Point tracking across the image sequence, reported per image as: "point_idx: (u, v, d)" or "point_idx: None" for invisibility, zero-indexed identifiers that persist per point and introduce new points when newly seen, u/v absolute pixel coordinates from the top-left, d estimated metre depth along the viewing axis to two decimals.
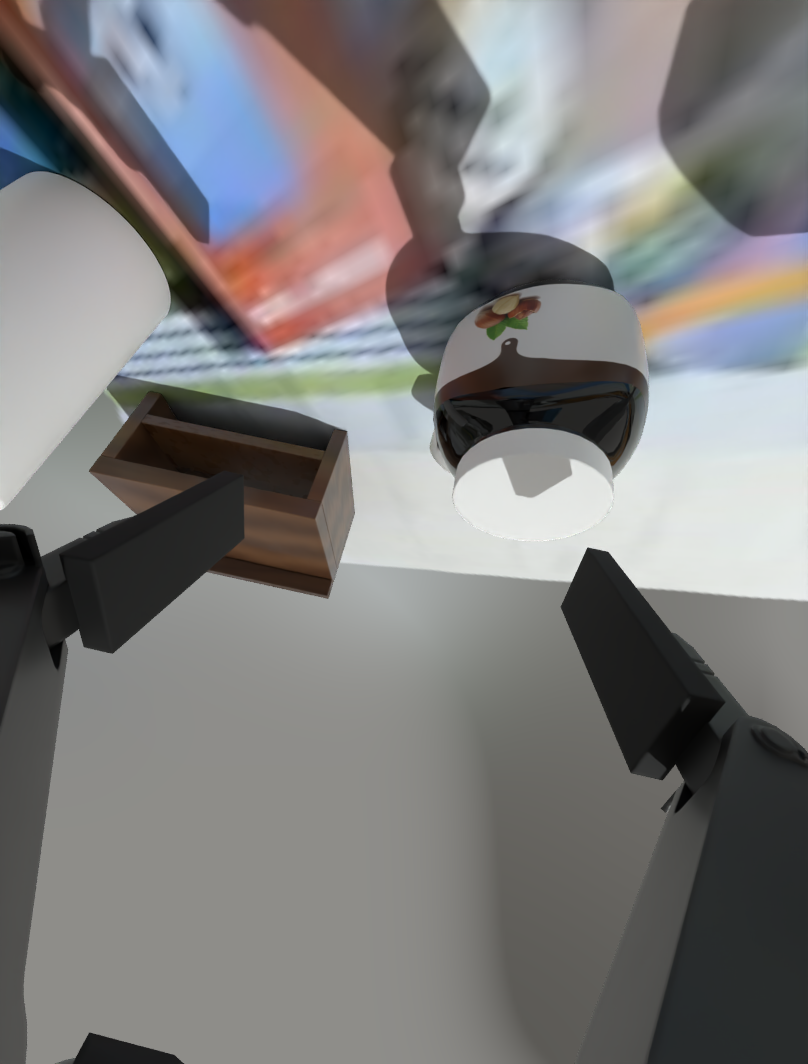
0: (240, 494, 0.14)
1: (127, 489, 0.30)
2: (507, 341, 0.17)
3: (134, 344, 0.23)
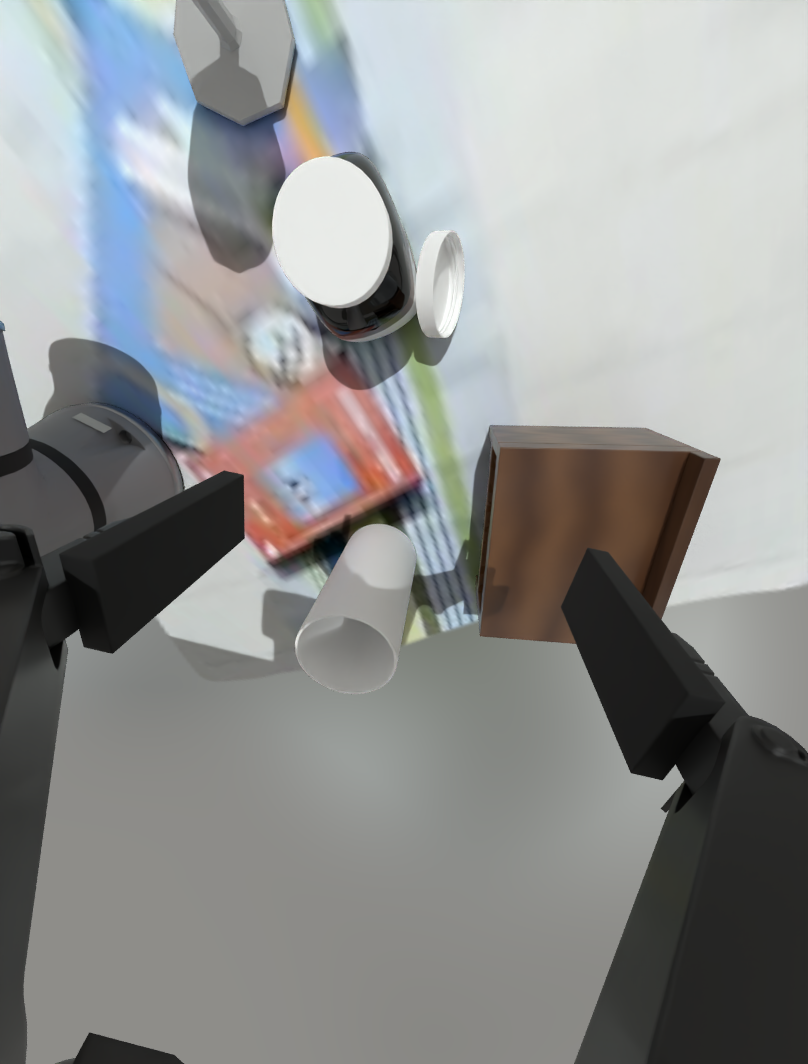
0: (240, 494, 0.14)
1: (500, 619, 0.34)
2: None
3: (391, 547, 0.38)
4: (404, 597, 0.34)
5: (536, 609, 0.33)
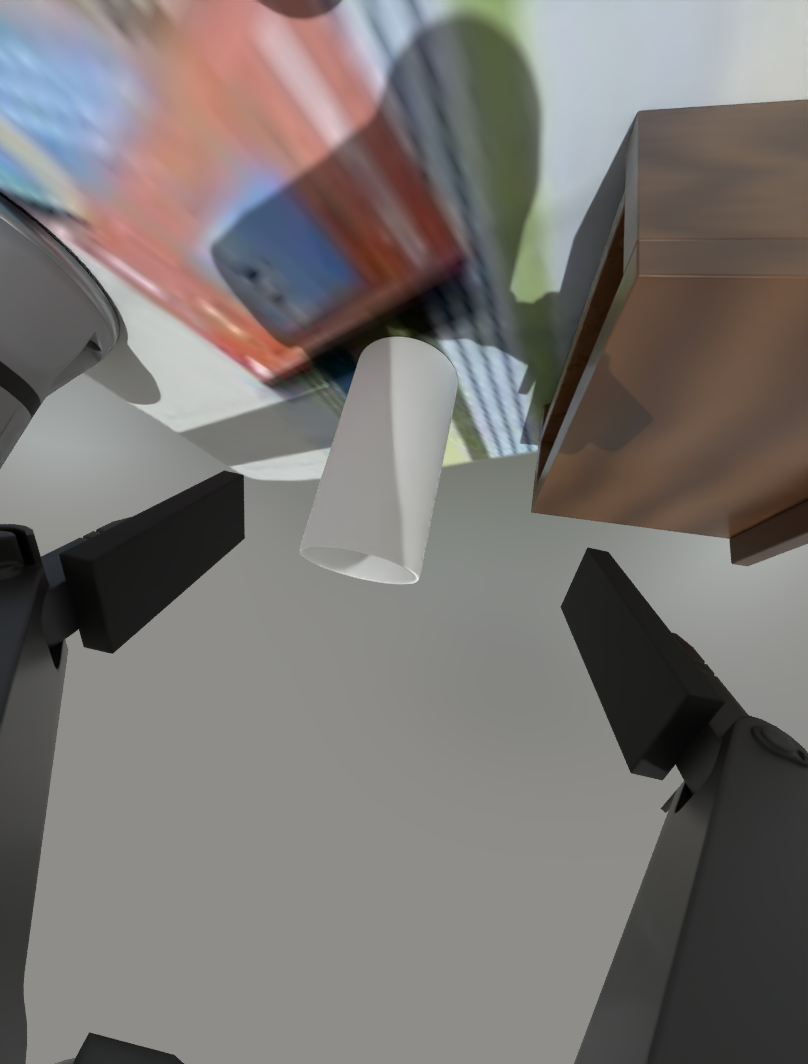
0: (240, 494, 0.14)
1: (562, 503, 0.26)
2: None
3: (415, 394, 0.25)
4: (432, 480, 0.25)
5: (617, 500, 0.24)
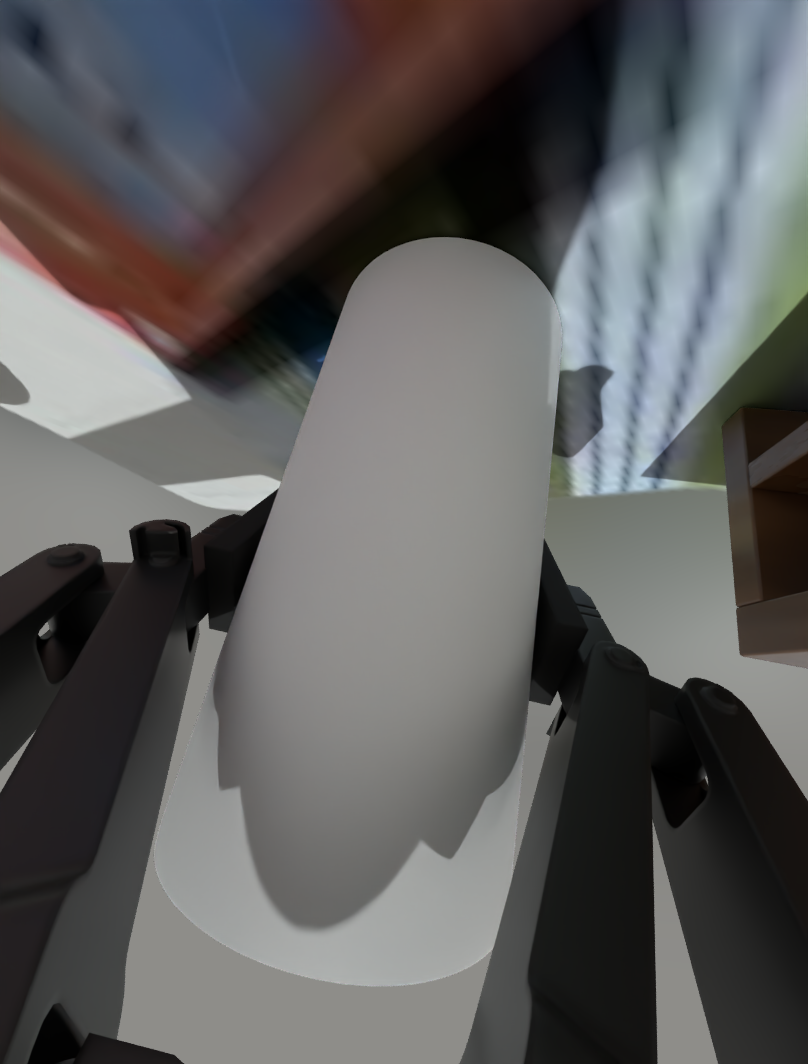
0: None
1: None
2: None
3: (491, 379, 0.09)
4: (534, 609, 0.09)
5: None
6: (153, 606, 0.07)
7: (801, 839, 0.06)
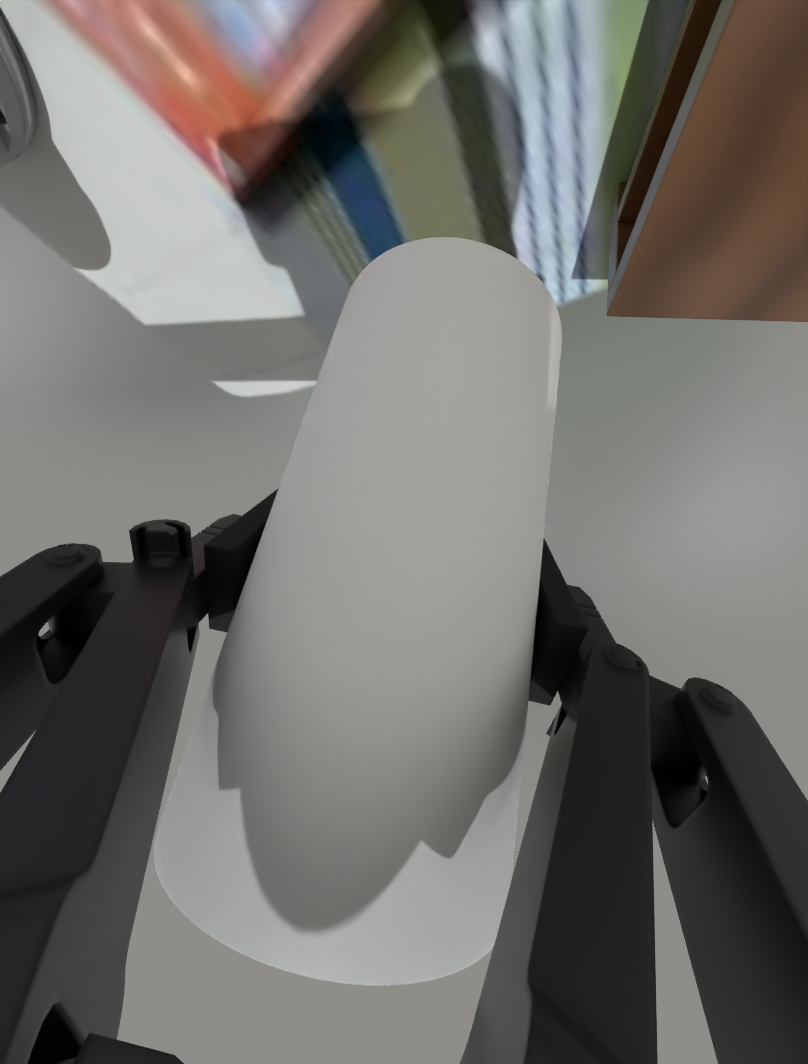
0: None
1: (662, 275, 0.17)
2: None
3: (490, 379, 0.09)
4: (534, 609, 0.09)
5: (761, 242, 0.15)
6: (153, 606, 0.07)
7: (801, 839, 0.06)
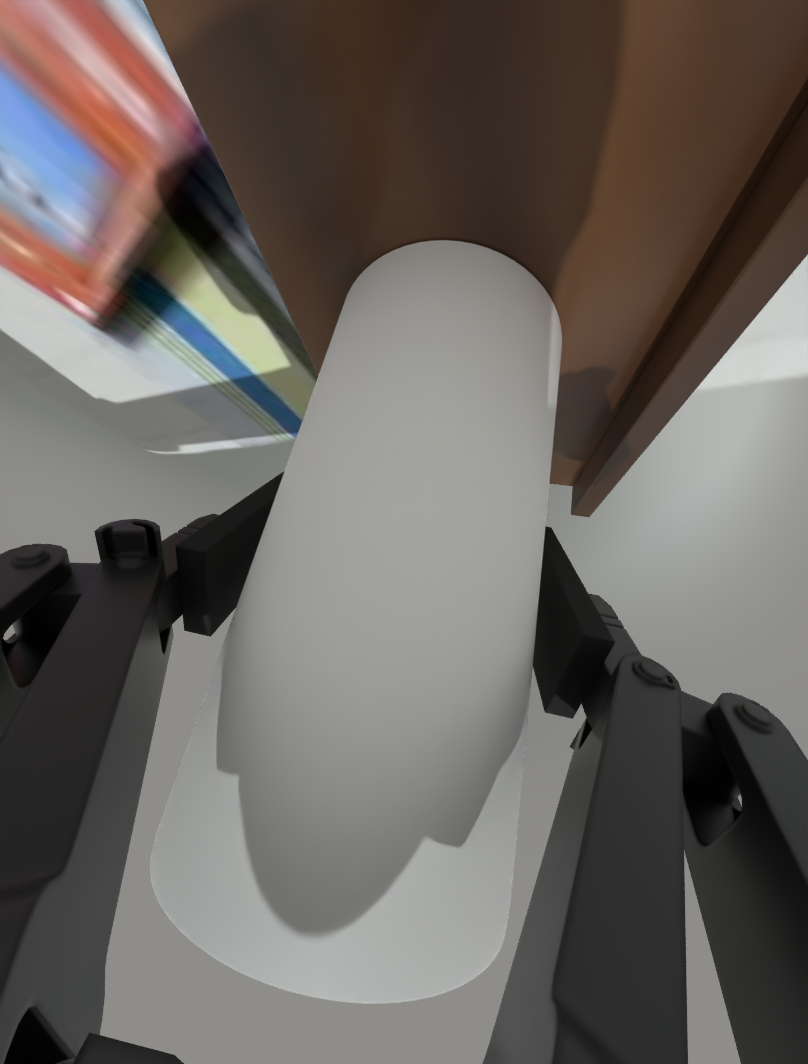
0: None
1: None
2: None
3: (490, 384, 0.09)
4: (534, 616, 0.09)
5: None
6: (122, 608, 0.07)
7: None
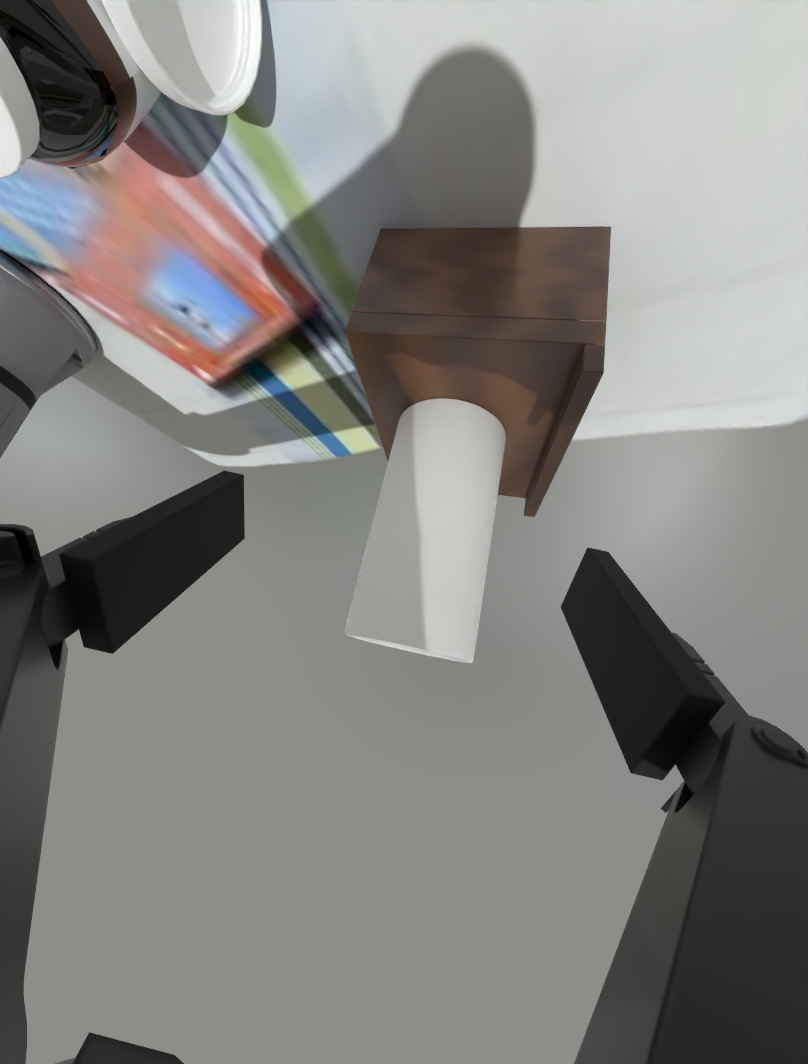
0: (240, 494, 0.14)
1: None
2: None
3: (468, 464, 0.24)
4: (485, 555, 0.24)
5: None
6: None
7: None
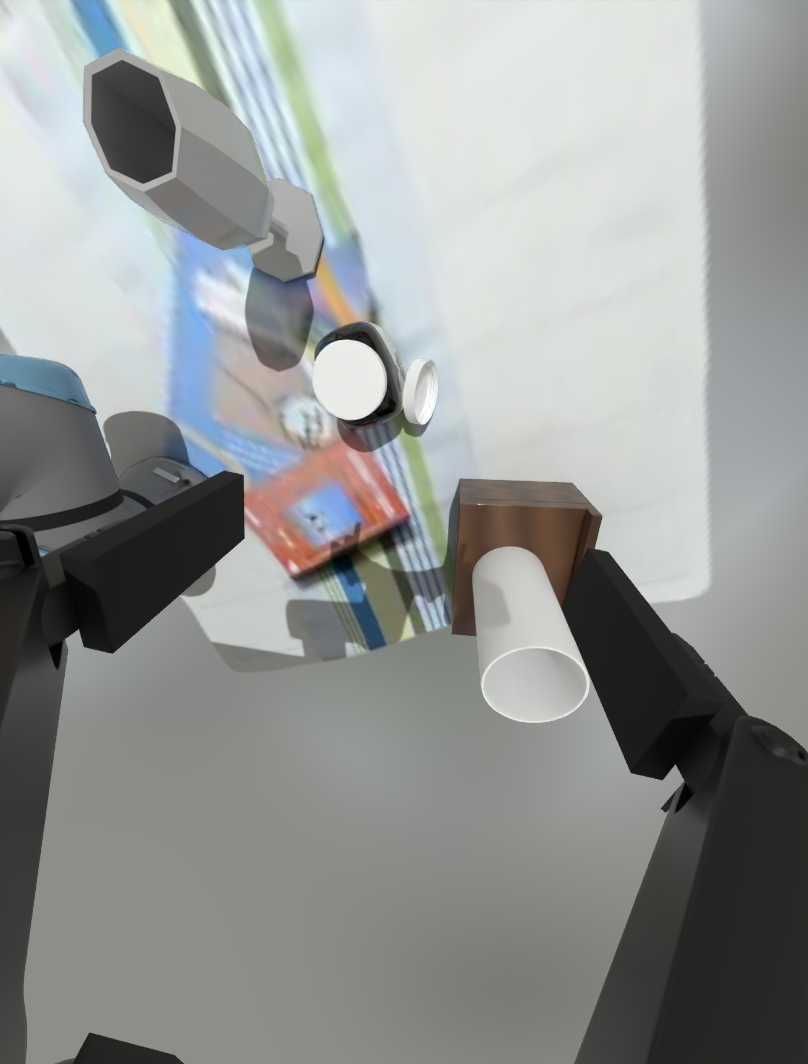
0: (240, 494, 0.14)
1: (466, 621, 0.47)
2: None
3: (537, 572, 0.38)
4: None
5: None
6: None
7: None
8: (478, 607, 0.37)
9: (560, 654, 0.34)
